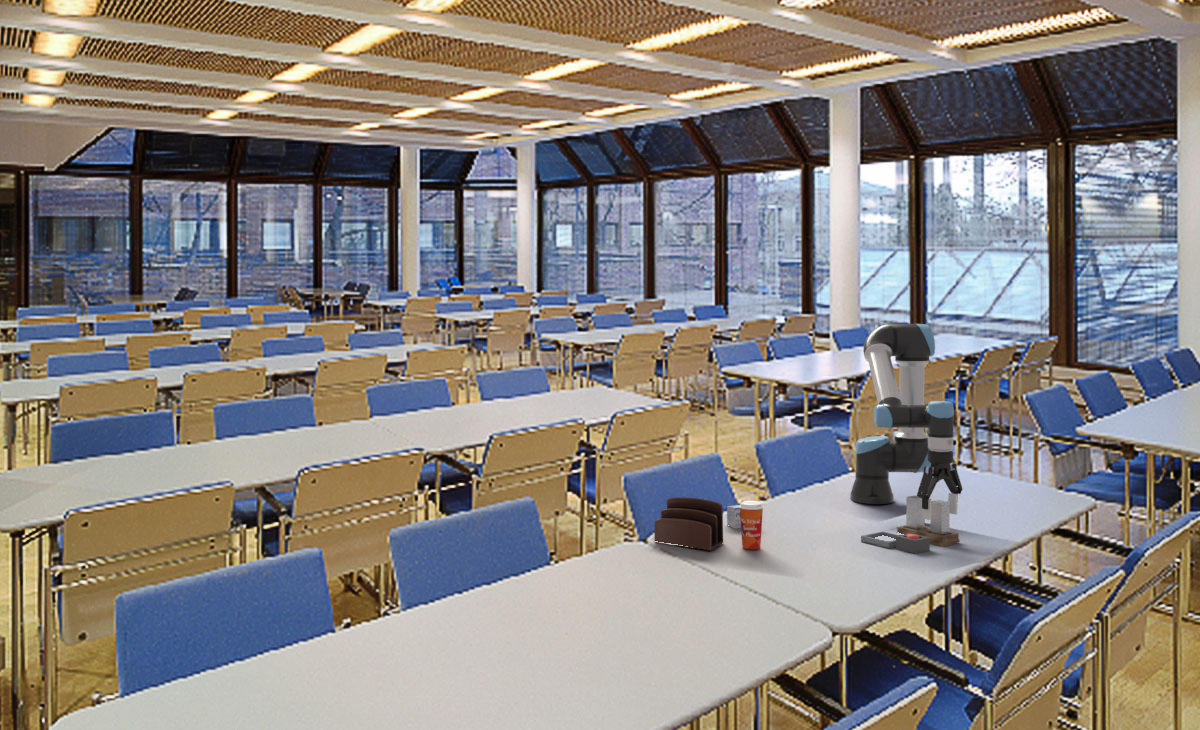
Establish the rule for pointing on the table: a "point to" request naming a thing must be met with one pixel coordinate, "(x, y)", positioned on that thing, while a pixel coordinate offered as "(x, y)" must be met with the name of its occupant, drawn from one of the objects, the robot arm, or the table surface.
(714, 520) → the letter holder
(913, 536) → the button
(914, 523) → the billet
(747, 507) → the paper cup
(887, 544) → the tray
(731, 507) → the medicine box
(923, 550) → the button housing
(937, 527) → the block
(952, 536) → the wooden tray
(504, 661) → the table surface
